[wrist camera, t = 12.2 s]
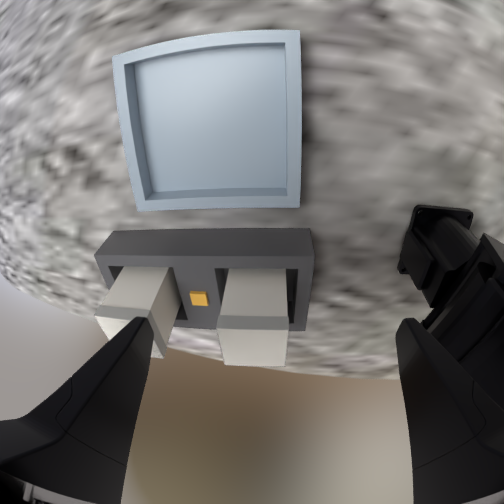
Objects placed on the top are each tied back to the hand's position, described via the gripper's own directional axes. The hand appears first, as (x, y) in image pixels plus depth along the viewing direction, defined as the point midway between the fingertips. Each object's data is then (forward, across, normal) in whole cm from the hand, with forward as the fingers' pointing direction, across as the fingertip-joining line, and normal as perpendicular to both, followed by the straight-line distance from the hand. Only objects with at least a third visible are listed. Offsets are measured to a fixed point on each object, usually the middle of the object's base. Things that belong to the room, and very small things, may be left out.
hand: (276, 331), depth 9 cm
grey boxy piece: (+12, +6, +7) cm, 15 cm away
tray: (+12, +4, -5) cm, 14 cm away
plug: (+11, +10, +7) cm, 16 cm away
